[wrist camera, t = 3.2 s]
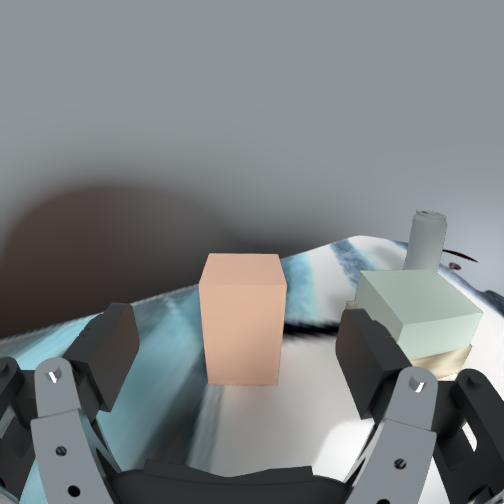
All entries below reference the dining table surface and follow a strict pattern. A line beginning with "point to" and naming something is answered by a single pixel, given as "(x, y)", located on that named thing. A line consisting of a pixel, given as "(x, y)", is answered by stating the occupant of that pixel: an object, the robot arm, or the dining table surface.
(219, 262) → the terracotta pillar block
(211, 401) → the dining table surface
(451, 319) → the sage top block
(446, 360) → the birch base block
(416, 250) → the beverage can
